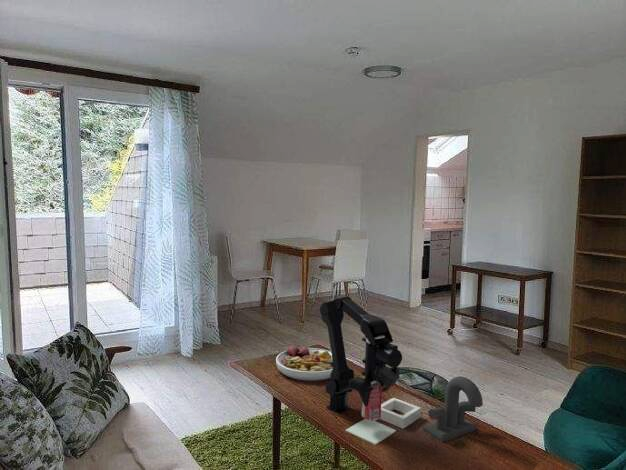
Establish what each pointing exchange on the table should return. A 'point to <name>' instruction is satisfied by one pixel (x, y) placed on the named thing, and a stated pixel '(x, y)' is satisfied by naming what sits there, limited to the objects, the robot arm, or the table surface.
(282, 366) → the bowl
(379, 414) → the beverage can
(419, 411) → the collar
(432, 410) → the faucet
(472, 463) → the table surface
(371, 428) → the mat
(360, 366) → the table surface
